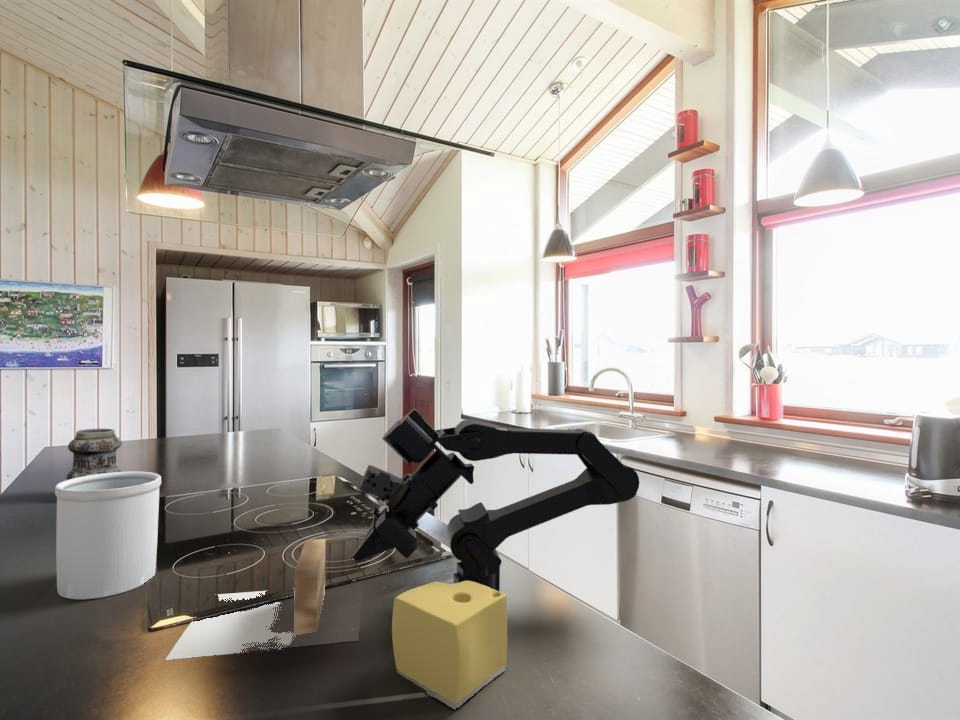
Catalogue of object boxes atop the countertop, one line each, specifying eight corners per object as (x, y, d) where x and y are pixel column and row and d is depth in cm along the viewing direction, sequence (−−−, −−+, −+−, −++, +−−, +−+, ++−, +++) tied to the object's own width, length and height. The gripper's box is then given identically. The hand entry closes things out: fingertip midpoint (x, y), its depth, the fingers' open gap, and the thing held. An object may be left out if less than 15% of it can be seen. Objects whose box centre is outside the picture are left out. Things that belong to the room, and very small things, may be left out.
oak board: (325, 594, 83) (325, 538, 83) (316, 633, 71) (317, 569, 71) (305, 595, 83) (306, 539, 83) (293, 635, 71) (294, 570, 71)
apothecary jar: (129, 494, 143) (129, 429, 143) (78, 504, 133) (78, 434, 133) (109, 487, 150) (109, 425, 149) (58, 497, 139) (59, 430, 139)
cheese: (448, 642, 71) (449, 569, 71) (511, 673, 64) (512, 593, 64) (390, 678, 63) (390, 596, 63) (455, 718, 56) (456, 626, 56)
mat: (363, 586, 87) (363, 583, 87) (359, 644, 70) (359, 641, 70) (209, 598, 83) (209, 594, 83) (164, 664, 65) (164, 660, 65)
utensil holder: (143, 557, 99) (144, 466, 99) (174, 579, 89) (174, 478, 89) (44, 583, 87) (45, 480, 87) (67, 611, 78) (68, 496, 78)
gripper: (389, 438, 88) (322, 505, 86) (393, 460, 70) (308, 546, 68) (435, 482, 90) (370, 549, 88) (450, 515, 72) (368, 600, 70)
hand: (354, 559), depth 78 cm, fingers closed
